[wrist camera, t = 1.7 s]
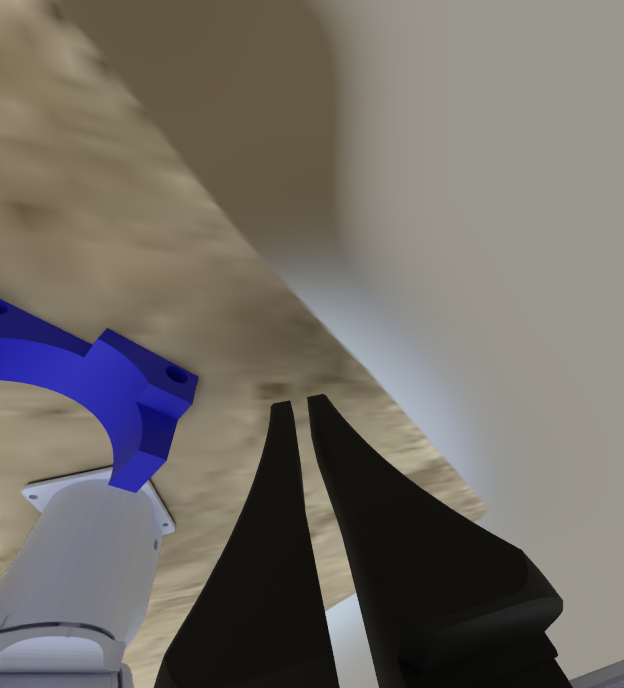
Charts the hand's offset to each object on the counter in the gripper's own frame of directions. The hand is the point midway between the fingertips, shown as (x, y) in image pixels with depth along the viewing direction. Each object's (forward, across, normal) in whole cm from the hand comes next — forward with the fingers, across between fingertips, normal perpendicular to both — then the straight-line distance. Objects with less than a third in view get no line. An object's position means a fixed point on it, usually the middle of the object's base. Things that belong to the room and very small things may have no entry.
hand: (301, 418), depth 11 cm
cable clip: (+10, +12, +1) cm, 15 cm away
